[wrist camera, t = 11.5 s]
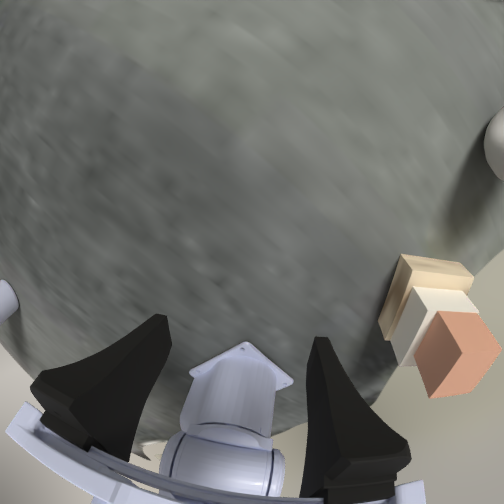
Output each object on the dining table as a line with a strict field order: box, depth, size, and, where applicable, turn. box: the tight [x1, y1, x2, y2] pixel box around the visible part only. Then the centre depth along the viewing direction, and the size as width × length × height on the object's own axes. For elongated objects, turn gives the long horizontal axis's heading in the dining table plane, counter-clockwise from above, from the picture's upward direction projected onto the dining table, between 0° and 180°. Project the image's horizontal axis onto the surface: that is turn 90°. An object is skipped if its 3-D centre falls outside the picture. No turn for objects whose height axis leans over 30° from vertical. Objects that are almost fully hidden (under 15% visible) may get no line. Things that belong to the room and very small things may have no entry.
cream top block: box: [390, 286, 479, 366], centre depth 18 cm, size 6×6×3 cm
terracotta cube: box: [414, 311, 502, 399], centre depth 14 cm, size 4×4×4 cm
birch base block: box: [378, 254, 474, 341], centre depth 20 cm, size 7×7×3 cm
